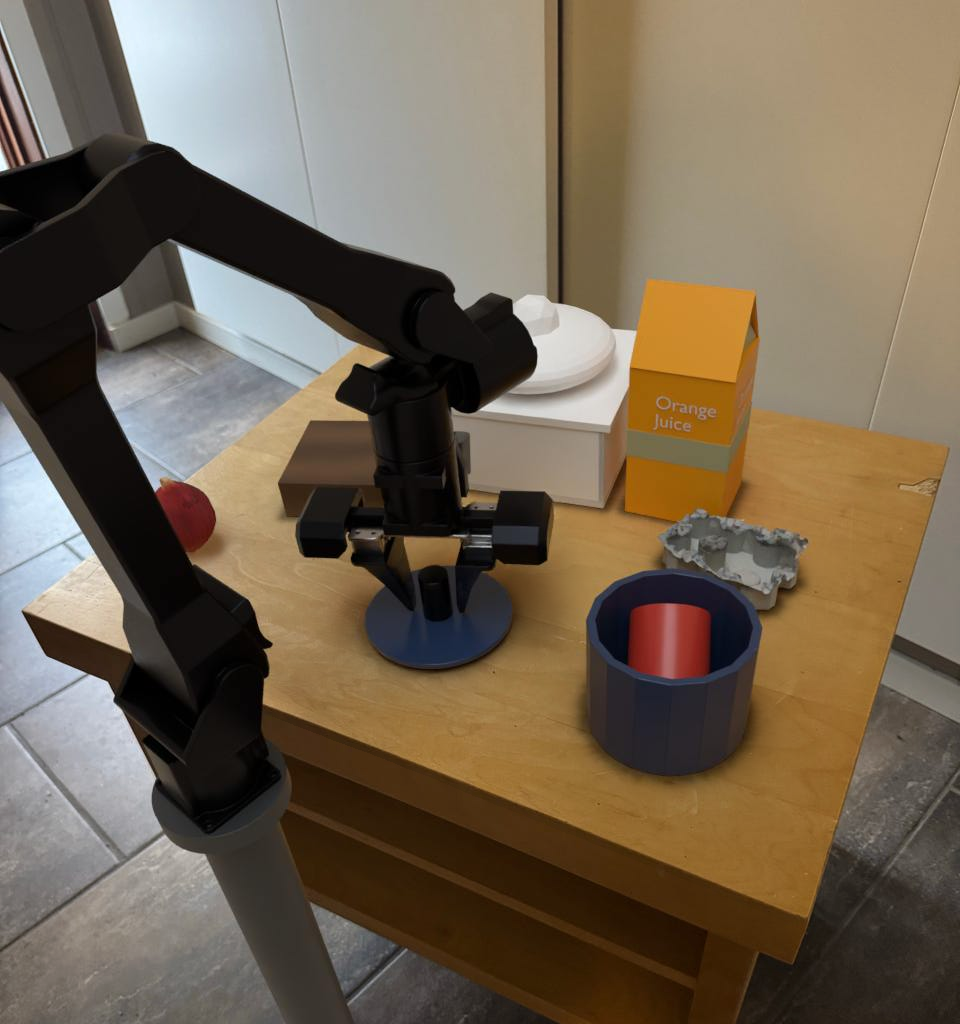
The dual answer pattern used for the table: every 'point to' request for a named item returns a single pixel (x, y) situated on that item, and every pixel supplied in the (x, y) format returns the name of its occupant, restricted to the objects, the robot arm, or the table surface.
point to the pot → (663, 701)
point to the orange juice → (689, 398)
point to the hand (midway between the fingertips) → (437, 608)
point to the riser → (330, 463)
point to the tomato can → (670, 640)
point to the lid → (439, 621)
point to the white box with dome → (557, 411)
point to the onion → (187, 512)
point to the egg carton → (735, 554)
